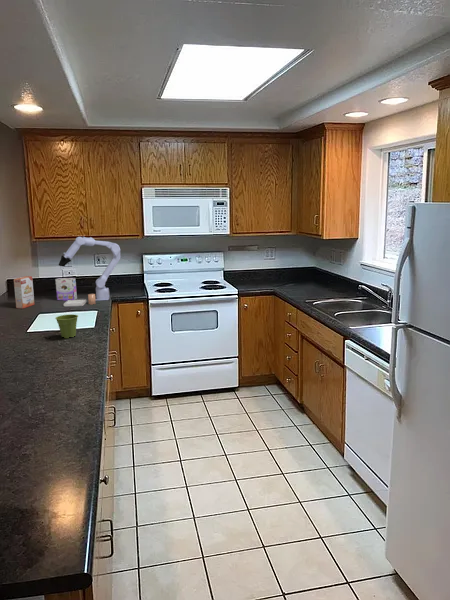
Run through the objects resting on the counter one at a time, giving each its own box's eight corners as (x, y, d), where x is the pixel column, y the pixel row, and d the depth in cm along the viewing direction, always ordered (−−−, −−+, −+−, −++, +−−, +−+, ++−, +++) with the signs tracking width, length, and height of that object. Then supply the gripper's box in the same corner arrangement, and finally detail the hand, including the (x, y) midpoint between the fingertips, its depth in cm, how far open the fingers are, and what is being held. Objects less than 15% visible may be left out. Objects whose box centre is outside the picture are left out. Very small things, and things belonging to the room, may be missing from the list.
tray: (86, 302, 359) (86, 299, 358) (82, 306, 346) (82, 303, 346) (68, 302, 358) (67, 300, 357) (63, 306, 345) (63, 303, 345)
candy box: (77, 299, 371) (75, 277, 368) (74, 300, 365) (72, 278, 362) (60, 299, 372) (58, 277, 369) (56, 300, 367) (54, 279, 363)
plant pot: (71, 332, 275) (70, 313, 273) (84, 336, 268) (82, 316, 265) (52, 337, 266) (50, 317, 264) (65, 341, 259) (63, 320, 257)
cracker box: (23, 308, 340) (20, 279, 336) (16, 308, 342) (12, 278, 337) (35, 304, 354) (32, 276, 350) (27, 304, 355) (24, 275, 351)
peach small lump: (96, 303, 355) (95, 293, 354) (95, 304, 350) (94, 294, 349) (89, 303, 355) (88, 293, 354) (88, 304, 350) (87, 295, 349)
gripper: (69, 248, 362) (58, 262, 361) (65, 246, 347) (53, 262, 347) (77, 253, 362) (66, 268, 362) (73, 252, 348) (62, 268, 347)
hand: (60, 265), depth 354 cm, fingers open, 7 cm apart
